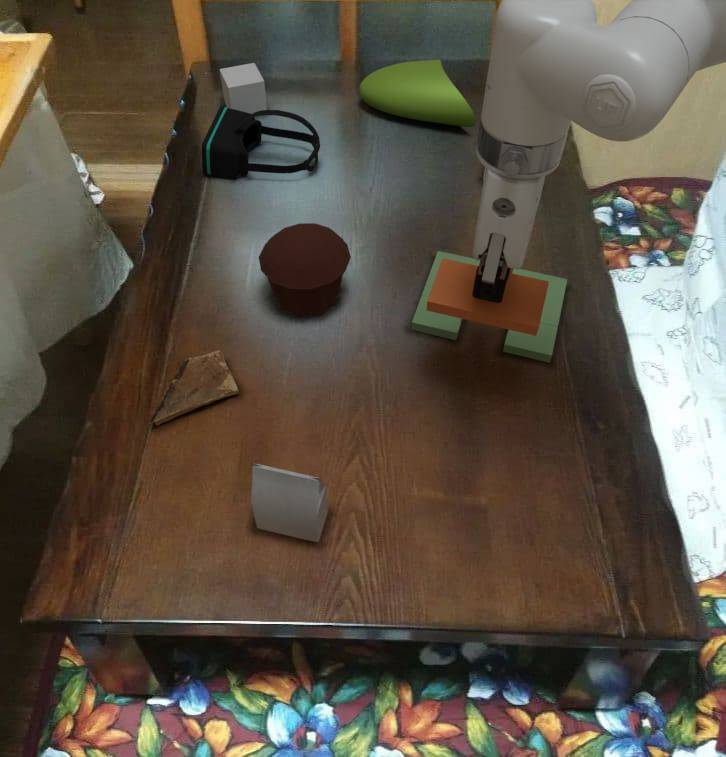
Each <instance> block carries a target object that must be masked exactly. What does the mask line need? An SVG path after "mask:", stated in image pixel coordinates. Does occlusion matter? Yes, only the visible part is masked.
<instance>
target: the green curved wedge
mask: <svg viewBox="0 0 726 757" xmlns="http://www.w3.org/2000/svg"><path fill="white" fill-rule="evenodd" d="M358 93H359V96H360V98H361V99H362V100H363V101H364V102H365V103H366V104H368V105H369V106H371V107H372V108H374V109H376V110H378V111H380V112H383V113H386V114H389V115H393V116H397V117H401V118H406V119H410V120H414V121H415V120H416V121H422V122H427V123H434V124H441V125H449V126H456V127H463V128H473V127H474V126H475V124H476V117H475V116H476V115H475V114H474V112H473V109H472V108H471V106H470V104H469V103H468V101H467V100H466V99H465V97H464V96H463V94H462V93H461V92H460V91H459V89H458V88H457V87H456V86H455V84H454V83H453V82H452V80H451V79H450V78H449V76H448V75H447V73H446V72H445V70H444V68H443V65H442V60H441V59H425V60H424V59H423V60H414V61H405V62H400V63H395V64H391V65H387V66H385V67H382V68H380V69H377V70H375V71H373V72H372V73H370V74H369V75H367V76H366V77H365V78H364V79H363V80H362V81H361V82H360V84H359V86H358Z"/></svg>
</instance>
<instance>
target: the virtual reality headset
mask: <svg viewBox="0 0 726 757" xmlns="http://www.w3.org/2000/svg"><path fill="white" fill-rule="evenodd" d="M260 116H278V117H282V118H288V119H291V120H294V121H296V122H298V123H300V124H302V125H303V126H304V127H305V128H307V129H308V130H309V131H310V133H312V134H310V133H306V132H300V131H295V130H290V129H282V128H276V127H270V126H265V125H262V124H263V123H262V122H261V120H260V119H259V120H258V119H256V117H260ZM262 135H265V136H270V137H277V138H282V139H283V138H284V139H288V140H289V139H290V140H295V141H300V142H305V143H308V144H310V145H311V146H312V148H313V150H312V152H311V153H310V155H309V156H308V158H307V159H305V160H303V162H301V163H297V164H292V165H291V164H289V165H282V164H281V165H279V164H269V163H267V164H266V163H253V162H249V152H250V151H251V150H253V149H255V148H257V147H258V146H260V145H261V143H262ZM320 140H321V139H320V136H319V133H318V132H317V130H316V128H315V127H314V126H313V124H311V123H310V122H309V121H308V120H307V119H306V118H304V117H303V116H300V115H299V114H296V113H293V112H290V111H285V110H279V109H267V110H261V111H258V112H255V113H253V114H250V113H246V112H243V111H239V110H235V109H231V108H227V106H223V105H220V107H219V108H218V110H217V112H216V114H215V117H213V120H212V123H211V124H210V127H209V129H208V131H207V132H206V135H205V137H204V139H203V140H202V144H201V164H202V165H201V166H202V167H201V168H202V173H203V174H206V175H212V176H218V177H223V178H230V179H236V178H238V177H239V176H241V175H243V176H248V174H249V172H254V173H266V174H267V173H268V174H295V173H299V172H302V171H307V172H308V173H311V172H313V171H314V170H315V168H316V166H317V164H318V162H319V152H320V149H321V141H320ZM313 160H314V165H311V163H312V162H313Z"/></svg>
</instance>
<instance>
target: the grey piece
mask: <svg viewBox="0 0 726 757" xmlns="http://www.w3.org/2000/svg"><path fill="white" fill-rule="evenodd" d="M251 468H252V478H251V479H252V480H251V496H250V504H251V508H252V511H253V516H254V521H255V526H256V529H258V530H263V531H266V532H271V533H275V534H279V535H284V536H287V537H291V538H297V539H301V540H305V541H308V542H312V543H320V541H321V540H320V539H321V536H322V533H323V530H324V526H325V523H326V520H327V517H328V513H329V507H328V489H327V488H328V487H327V484H326V483H324V482H323V481H322V479H321V477H317V476H314V475H313V476H312V475H310V474H304V473H299V472H295V471H291V470H286V469H282V468H278V467H273V466H268V465H263V464H259V463H253V465H252V467H251Z"/></svg>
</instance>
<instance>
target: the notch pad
mask: <svg viewBox="0 0 726 757" xmlns="http://www.w3.org/2000/svg"><path fill="white" fill-rule="evenodd" d="M443 258H444V259H449V260H453V261H458V262H463V263H467V264H472V265H476V266H479V263H480V259H478V261H477V260H476V259H475V258H474V257H473V258H472V257H468V256H463V255H458V254H455V253H449V252H445V251H442V250H441V251H440V250H437V252H436V255H435V258H434V259H433V263H432V265H431V269H430V270H429V274H428V276H427V280H426V282H425V284H424V288H423V290H422V293H421V295H420V298H419V301H418V305H417V307H416V310H415V312H414V315H413V318H412V320H411V325H410V326H411V327H410V329H411V331H415V332H418V333H419V332H420V333H423V334H428V335H431V336H436V337H440V338H443V339H449V340H453V341H457V339H458V336H459V333H460V330H461V327H462V323H463V321H464V319H461V318H457V317H452V316H448V315H444V314H440V313H435V312H431V311H427V310H426V309H427V301H428V298H429V295H430V292H431V290H432V287H433V284H434V281H435V278H436V276H437V273H438V270H439V267H440V264H441V261H442V259H443ZM513 274H517V275H522V276H526V277H531V278H535V279H540V280H545V281H549V285H548V289H547V294H546V298H545V303H544V307H543V312H542V316H541V321H540V325H539V329H538V332H537V336H534V335H530V334H525V333H521V332H517V331H513V330H508V329H507V332H506V336H505V340H504V343H503V348H502V352H503V353H507V354H511V355H515V356H519V357H523V358H527V359H532V360H535V361H540V362H543V363H549V364H550V363H551V360H552V358H553V354H554V348H555V343H556V339H557V334H558V329H559V324H560V320H561V313H562V309H563V304H564V300H565V294H566V288H567V285H568V283H567V282H568V278H564V277H559V276H556V275H555V276H554V275H550V274H545V273H540V272H537V271H531V270H527V269H522V268H519V269H517V270H516V269H513Z"/></svg>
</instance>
